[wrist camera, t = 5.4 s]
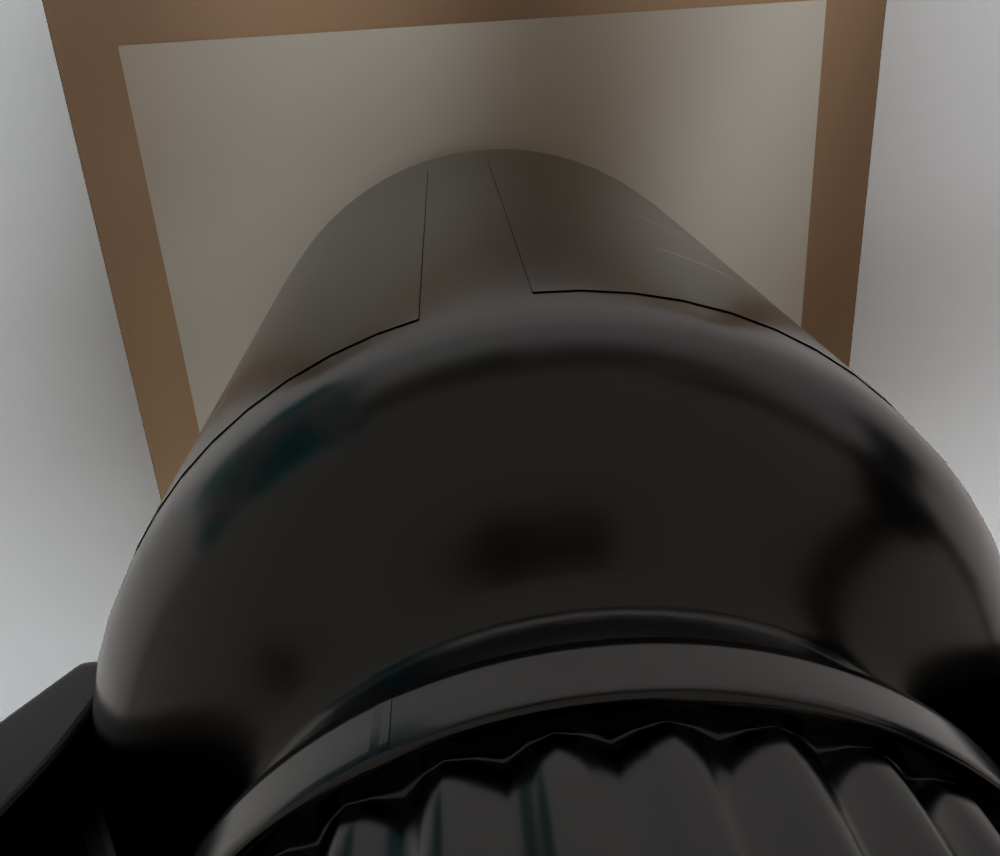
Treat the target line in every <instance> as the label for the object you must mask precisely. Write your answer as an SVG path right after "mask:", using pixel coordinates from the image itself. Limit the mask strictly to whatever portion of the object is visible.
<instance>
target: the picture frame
mask: <svg viewBox="0 0 1000 856" xmlns="http://www.w3.org/2000/svg"><path fill="white" fill-rule="evenodd" d="M42 2H43V7H44V11H45V15H46V19H47V23H48V27H49V32H50V36H51V40H52V44H53V48H54V53H55V57H56V61H57V65H58V69H59V74H60V78H61V82H62V86H63V90H64V95H65V99H66V103H67V107H68V111H69V116H70V120H71V124H72V128H73V132H74V137H75V141H76V145H77V149H78V153H79V157H80V162H81V166H82V170H83V174H84V178H85V183H86V187H87V191H88V195H89V199H90V204H91V208H92V212H93V216H94V220H95V225H96V229H97V233H98V237H99V241H100V246H101V250H102V254H103V258H104V262H105V267H106V271H107V275H108V279H109V283H110V287H111V292H112V296H113V300H114V304H115V308H116V313H117V317H118V321H119V325H120V329H121V334H122V338H123V342H124V346H125V350H126V355H127V359H128V363H129V367H130V371H131V376H132V380H133V384H134V388H135V392H136V397H137V401H138V405H139V409H140V413H141V417H142V422H143V426H144V430H145V434H146V438H147V443H148V447H149V451H150V455H151V459H152V464H153V468H154V472H155V476H156V480H157V485H158V489H159V493H160V497H161V501H162V500H163V498H164V496H165V494H166V493H167V491H168V489H169V487H170V486H171V484H172V482H173V480H174V478H175V477H176V475H177V473H178V471H179V469H180V468H181V466H182V464H183V462H184V461H185V459H186V457H187V455H188V453H189V452H190V450H191V448H192V446H193V445H194V443H195V441H196V439H197V437H198V436H199V434H200V432H201V430H202V429H203V427H204V425H205V423H206V422H207V420H208V418H209V416H210V414H211V413H212V411H213V409H214V407H215V406H216V404H217V402H218V400H219V398H220V397H221V395H222V393H223V391H224V390H225V388H226V386H227V384H228V383H229V381H230V379H231V377H232V375H233V374H234V372H235V370H236V368H237V367H238V365H239V363H240V361H241V359H242V358H243V356H244V354H245V352H246V351H247V349H248V347H249V345H250V344H251V342H252V340H253V338H254V336H255V335H256V333H257V331H258V329H259V328H260V326H261V324H262V322H263V320H264V319H265V317H266V315H267V313H268V312H269V310H270V308H271V306H272V305H273V303H274V301H275V299H276V297H277V296H278V294H279V292H280V290H281V289H282V287H283V285H284V283H285V281H286V280H287V278H288V276H289V275H290V273H291V272H292V270H293V269H294V267H295V266H296V264H297V263H298V261H299V260H300V258H301V257H302V255H303V254H304V252H305V251H306V249H307V248H308V247H309V245H310V244H311V242H312V241H313V240H314V238H315V237H316V236H317V235H318V234H319V233H320V231H321V230H322V229H323V228H324V227H325V226H326V225H327V223H328V222H329V221H330V220H332V219H333V218H334V217H335V216H336V215H337V214H338V213H339V212H340V211H341V210H342V209H343V208H344V207H345V206H347V205H348V204H349V203H350V202H352V201H353V200H354V199H356V198H357V197H358V196H360V195H361V194H362V193H364V192H365V191H366V190H368V189H369V188H371V187H373V186H374V185H376V184H377V183H379V182H381V181H382V180H384V179H386V178H387V177H389V176H392V175H394V174H396V173H398V172H400V171H402V170H404V169H406V168H408V167H411V166H414V165H416V164H419V163H422V162H425V161H428V160H430V159H434V158H438V157H442V156H446V155H450V154H454V153H461V152H467V151H474V150H488V149H513V150H528V151H534V152H540V153H546V154H551V155H555V156H559V157H562V158H566V159H570V160H573V161H577V162H579V163H582V164H584V165H587V166H589V167H592V168H595V169H597V170H600V171H601V172H603V173H605V174H607V175H609V176H611V177H613V178H615V179H617V180H619V181H621V182H622V183H624V184H625V185H627V186H628V187H630V188H631V189H633V190H634V191H636V192H638V193H639V194H641V195H642V196H643V197H645V198H646V199H647V200H649V201H650V202H652V203H653V204H654V205H656V206H657V207H658V208H659V209H660V210H662V211H663V212H664V213H665V214H667V215H668V216H669V217H670V218H671V219H673V220H674V221H675V222H676V223H677V224H679V225H680V226H681V227H682V228H683V229H685V230H686V231H687V232H688V233H689V234H691V235H692V236H693V237H694V238H695V239H696V240H698V241H699V242H700V243H701V244H702V245H704V246H705V247H706V248H707V249H708V250H710V251H711V252H712V253H713V254H714V255H715V256H717V257H718V258H719V259H720V260H721V261H723V262H724V263H725V264H726V265H727V266H729V267H730V268H731V269H732V270H733V271H735V272H736V273H737V274H738V275H739V276H740V277H742V278H743V279H744V280H745V281H746V282H748V283H749V284H750V285H751V286H752V287H754V288H755V289H756V290H757V291H758V292H759V293H761V294H762V295H763V296H764V297H765V298H767V299H768V300H769V301H770V302H771V303H773V304H774V305H775V306H776V307H777V308H778V309H780V310H781V311H782V312H783V313H784V314H786V315H787V316H788V317H789V318H790V319H792V320H793V321H794V322H795V323H796V324H797V325H799V326H800V327H801V328H802V329H803V330H805V331H806V332H807V333H808V334H809V335H811V336H812V337H813V338H814V339H815V340H816V341H818V342H819V343H820V344H821V345H822V346H824V347H825V348H826V349H827V350H828V351H830V352H831V353H832V354H833V355H834V356H835V357H837V358H838V359H839V360H840V361H841V362H843V363H844V364H845V365H846V366H847V367H849V362H850V352H851V342H852V332H853V322H854V313H855V303H856V293H857V283H858V273H859V264H860V254H861V244H862V234H863V224H864V215H865V205H866V195H867V185H868V176H869V166H870V156H871V146H872V136H873V127H874V117H875V107H876V97H877V87H878V78H879V68H880V58H881V48H882V38H883V29H884V19H885V9H886V0H42Z"/></svg>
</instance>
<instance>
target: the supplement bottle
mask: <svg viewBox="0 0 1000 856" xmlns="http://www.w3.org/2000/svg"><path fill="white" fill-rule="evenodd" d="M92 719H93V753H94V762H95V769H96V776H97V783H98V790H99V796H100V801H101V805H102V809H103V813H104V817H105V820H106V824H107V827H108V831H109V835H110V838H111V842H112V845H113V848H114V851H115V853H116V856H1000V554H999V551H998V549H997V546H996V544H995V542H994V539H993V537H992V535H991V533H990V531H989V529H988V527H987V525H986V523H985V522H984V520H983V518H982V516H981V515H980V513H979V511H978V509H977V507H976V506H975V504H974V502H973V500H972V499H971V497H970V495H969V493H968V492H967V490H966V489H965V488H964V486H963V485H962V484H961V482H960V481H959V480H958V478H957V477H956V476H955V474H954V473H953V472H952V470H951V469H950V468H949V466H948V465H947V464H946V462H945V461H944V460H943V458H942V457H941V456H940V455H939V454H938V453H937V452H936V451H935V450H934V449H933V448H932V447H931V445H930V444H929V443H928V442H927V441H926V440H925V439H924V438H923V437H922V436H921V435H920V434H919V433H918V432H917V431H916V430H915V429H914V428H913V427H912V426H911V425H910V424H909V423H908V422H907V421H906V419H905V418H904V417H903V416H902V415H901V414H900V413H898V412H897V411H896V410H895V409H894V407H893V406H892V405H891V404H890V403H889V402H888V401H887V400H886V399H885V398H884V397H882V396H881V395H880V394H879V393H878V392H877V391H876V390H875V389H873V388H872V387H871V386H870V385H869V384H867V383H866V382H865V381H864V380H863V379H862V378H860V377H859V376H858V375H857V374H856V373H854V372H853V371H852V370H851V369H850V368H849V367H847V366H846V365H845V364H844V363H843V362H841V361H840V360H839V359H838V358H837V357H835V356H834V355H833V354H832V353H831V352H830V351H828V350H827V349H826V348H825V347H824V346H822V345H821V344H820V343H819V342H818V341H816V340H815V339H814V338H813V337H812V336H811V335H809V334H808V333H807V332H806V331H805V330H803V329H802V328H801V327H800V326H799V325H797V324H796V323H795V322H794V321H793V320H792V319H790V318H789V317H788V316H787V315H786V314H784V313H783V312H782V311H781V310H780V309H778V308H777V307H776V306H775V305H774V304H773V303H771V302H770V301H769V300H768V299H767V298H765V297H764V296H763V295H762V294H761V293H759V292H758V291H757V290H756V289H755V288H754V287H752V286H751V285H750V284H749V283H748V282H746V281H745V280H744V279H743V278H742V277H740V276H739V275H738V274H737V273H736V272H735V271H733V270H732V269H731V268H730V267H729V266H727V265H726V264H725V263H724V262H723V261H721V260H720V259H719V258H718V257H717V256H715V255H714V254H713V253H712V252H711V251H710V250H708V249H707V248H706V247H705V246H704V245H702V244H701V243H700V242H699V241H698V240H696V239H695V238H694V237H693V236H692V235H691V234H689V233H688V232H687V231H686V230H685V229H683V228H682V227H681V226H680V225H679V224H677V223H676V222H675V221H674V220H673V219H671V218H670V217H669V216H668V215H667V214H665V213H664V212H663V211H662V210H660V209H659V208H658V207H657V206H656V205H654V204H653V203H652V202H650V201H649V200H647V199H646V198H645V197H643V196H642V195H641V194H639V193H638V192H636V191H634V190H633V189H631V188H630V187H628V186H627V185H625V184H624V183H622V182H621V181H619V180H617V179H615V178H613V177H611V176H609V175H607V174H605V173H603V172H601V171H600V170H597V169H595V168H592V167H589V166H587V165H584V164H582V163H579V162H577V161H573V160H570V159H566V158H562V157H559V156H555V155H551V154H546V153H540V152H534V151H528V150H513V149H488V150H474V151H467V152H461V153H454V154H450V155H446V156H442V157H438V158H434V159H430V160H428V161H425V162H422V163H419V164H416V165H414V166H411V167H408V168H406V169H404V170H402V171H400V172H398V173H396V174H394V175H392V176H389V177H387V178H386V179H384V180H382V181H381V182H379V183H377V184H376V185H374V186H373V187H371V188H369V189H368V190H366V191H365V192H364V193H362V194H361V195H360V196H358V197H357V198H356V199H354V200H353V201H352V202H350V203H349V204H348V205H347V206H345V207H344V208H343V209H342V210H341V211H340V212H339V213H338V214H337V215H336V216H335V217H334V218H333V219H332V220H330V221H329V222H328V223H327V225H326V226H325V227H324V228H323V229H322V230H321V231H320V233H319V234H318V235H317V236H316V237H315V238H314V240H313V241H312V242H311V244H310V245H309V247H308V248H307V249H306V251H305V252H304V254H303V255H302V257H301V258H300V260H299V261H298V263H297V264H296V266H295V267H294V269H293V270H292V272H291V273H290V275H289V276H288V278H287V280H286V281H285V283H284V285H283V287H282V289H281V290H280V292H279V294H278V296H277V297H276V299H275V301H274V303H273V305H272V306H271V308H270V310H269V312H268V313H267V315H266V317H265V319H264V320H263V322H262V324H261V326H260V328H259V329H258V331H257V333H256V335H255V336H254V338H253V340H252V342H251V344H250V345H249V347H248V349H247V351H246V352H245V354H244V356H243V358H242V359H241V361H240V363H239V365H238V367H237V368H236V370H235V372H234V374H233V375H232V377H231V379H230V381H229V383H228V384H227V386H226V388H225V390H224V391H223V393H222V395H221V397H220V398H219V400H218V402H217V404H216V406H215V407H214V409H213V411H212V413H211V414H210V416H209V418H208V420H207V422H206V423H205V425H204V427H203V429H202V430H201V432H200V434H199V436H198V437H197V439H196V441H195V443H194V445H193V446H192V448H191V450H190V452H189V453H188V455H187V457H186V459H185V461H184V462H183V464H182V466H181V468H180V469H179V471H178V473H177V475H176V477H175V478H174V480H173V482H172V484H171V486H170V487H169V489H168V491H167V493H166V494H165V496H164V498H163V500H162V502H161V504H160V506H159V507H158V509H157V511H156V513H155V515H154V517H153V518H152V520H151V522H150V524H149V526H148V528H147V530H146V531H145V533H144V535H143V537H142V539H141V541H140V543H139V545H138V547H137V549H136V552H135V554H134V557H133V559H132V561H131V563H130V565H129V568H128V570H127V573H126V575H125V578H124V580H123V583H122V585H121V588H120V590H119V593H118V595H117V598H116V600H115V603H114V605H113V608H112V610H111V613H110V616H109V618H108V622H107V626H106V630H105V634H104V637H103V641H102V645H101V649H100V653H99V657H98V665H97V673H96V682H95V690H94V698H93V707H92Z"/></svg>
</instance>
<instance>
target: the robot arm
mask: <svg viewBox="0 0 1000 856" xmlns="http://www.w3.org/2000/svg"><path fill="white" fill-rule="evenodd" d="M97 665H98V662H88V663H83V664H81V665H79V666H77V667H76V668H74V669H73V670H71V671H70V672H69V673H67V674H66V675H65V676H63V677H62V678H60V679H59V680H58V681H56V682H55V683H54V684H52V685H51V686H50V687H48V688H47V689H45V690H44V691H43V692H41V693H40V694H39V695H37V696H36V697H34V698H33V699H32V700H30V701H29V702H28V703H26V704H25V705H23V706H22V707H21V708H19V709H18V710H17V711H15V712H14V713H12V714H11V715H10V716H8V717H7V718H6V719H4V720H3V721H1V722H0V856H116V853H115V851H114V848H113V845H112V842H111V838H110V835H109V831H108V827H107V824H106V820H105V817H104V813H103V809H102V805H101V801H100V796H99V790H98V783H97V776H96V769H95V762H94V753H93V719H92V707H93V698H94V690H95V682H96V673H97Z"/></svg>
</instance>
